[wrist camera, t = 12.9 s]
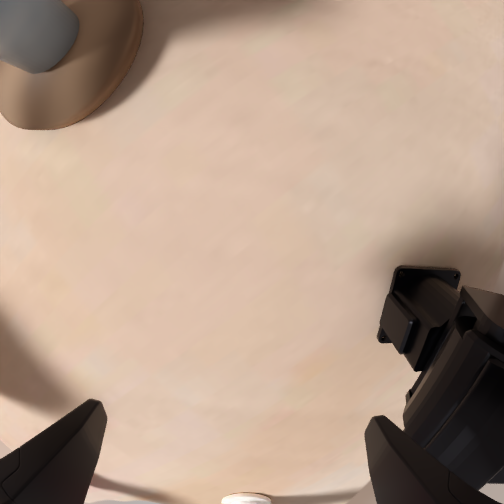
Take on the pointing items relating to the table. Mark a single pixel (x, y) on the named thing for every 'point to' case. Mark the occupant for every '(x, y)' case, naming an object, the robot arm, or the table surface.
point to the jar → (36, 33)
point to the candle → (246, 499)
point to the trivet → (76, 68)
